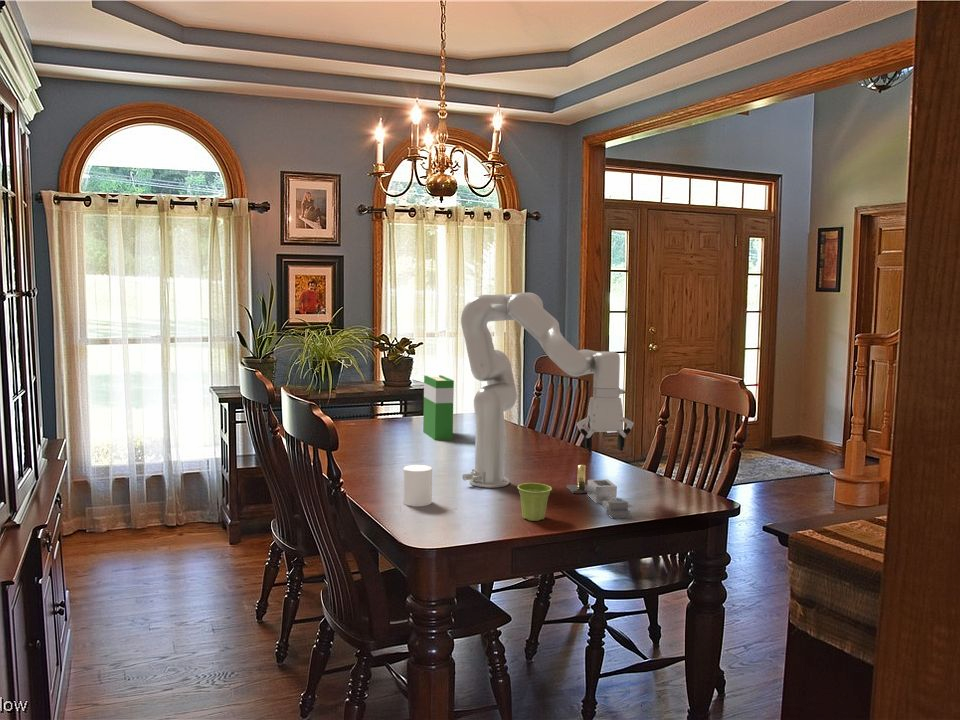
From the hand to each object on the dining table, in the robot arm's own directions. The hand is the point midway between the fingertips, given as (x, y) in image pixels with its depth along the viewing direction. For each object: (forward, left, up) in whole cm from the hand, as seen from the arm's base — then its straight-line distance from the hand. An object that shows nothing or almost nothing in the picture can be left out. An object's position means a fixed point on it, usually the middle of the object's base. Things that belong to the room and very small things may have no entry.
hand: (604, 450), depth 244 cm
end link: (0, 0, -15) cm, 15 cm away
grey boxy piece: (-9, -14, -15) cm, 23 cm away
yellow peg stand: (+2, +11, -15) cm, 19 cm away
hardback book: (+16, +106, -15) cm, 108 cm away
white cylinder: (-47, +30, -15) cm, 58 cm away
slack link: (-5, -8, -15) cm, 18 cm away
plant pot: (-30, -2, -15) cm, 34 cm away
